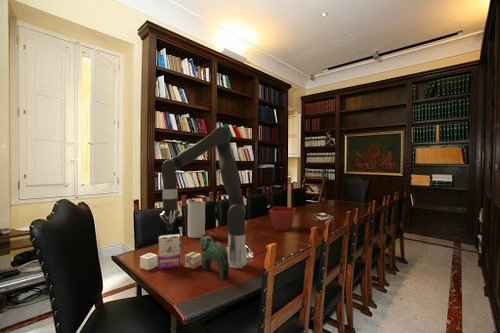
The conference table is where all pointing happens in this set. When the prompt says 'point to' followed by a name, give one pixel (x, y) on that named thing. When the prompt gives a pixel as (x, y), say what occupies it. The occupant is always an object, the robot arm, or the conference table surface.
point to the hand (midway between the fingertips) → (169, 229)
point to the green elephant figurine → (214, 255)
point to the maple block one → (192, 260)
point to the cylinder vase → (196, 219)
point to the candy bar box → (169, 251)
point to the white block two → (148, 261)
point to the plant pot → (282, 218)
